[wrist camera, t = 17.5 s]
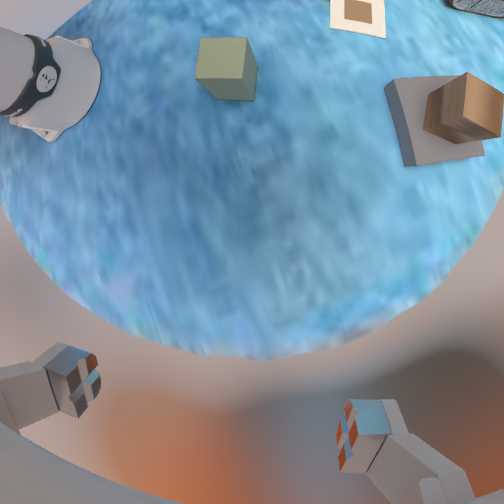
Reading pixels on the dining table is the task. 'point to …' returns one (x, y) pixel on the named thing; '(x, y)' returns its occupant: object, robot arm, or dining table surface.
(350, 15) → the card
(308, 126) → the dining table surface
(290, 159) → the dining table surface
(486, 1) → the tin
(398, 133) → the base block
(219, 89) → the olive block
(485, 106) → the walnut block
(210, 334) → the dining table surface
